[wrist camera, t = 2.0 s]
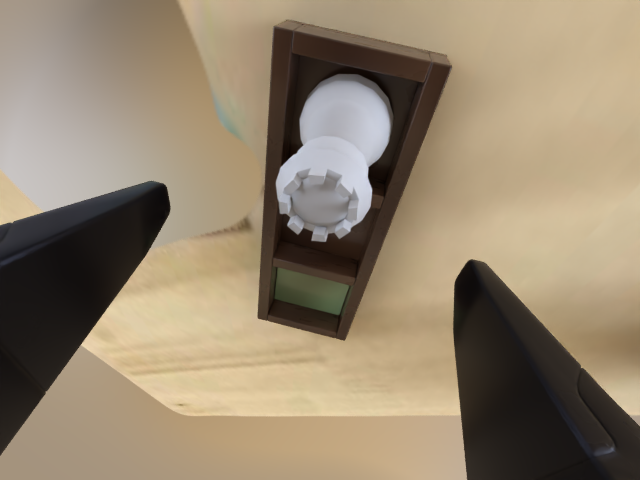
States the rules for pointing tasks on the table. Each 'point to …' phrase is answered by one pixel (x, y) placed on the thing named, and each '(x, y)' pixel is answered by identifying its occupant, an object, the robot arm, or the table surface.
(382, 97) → the rook chess piece
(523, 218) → the table surface
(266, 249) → the tray
